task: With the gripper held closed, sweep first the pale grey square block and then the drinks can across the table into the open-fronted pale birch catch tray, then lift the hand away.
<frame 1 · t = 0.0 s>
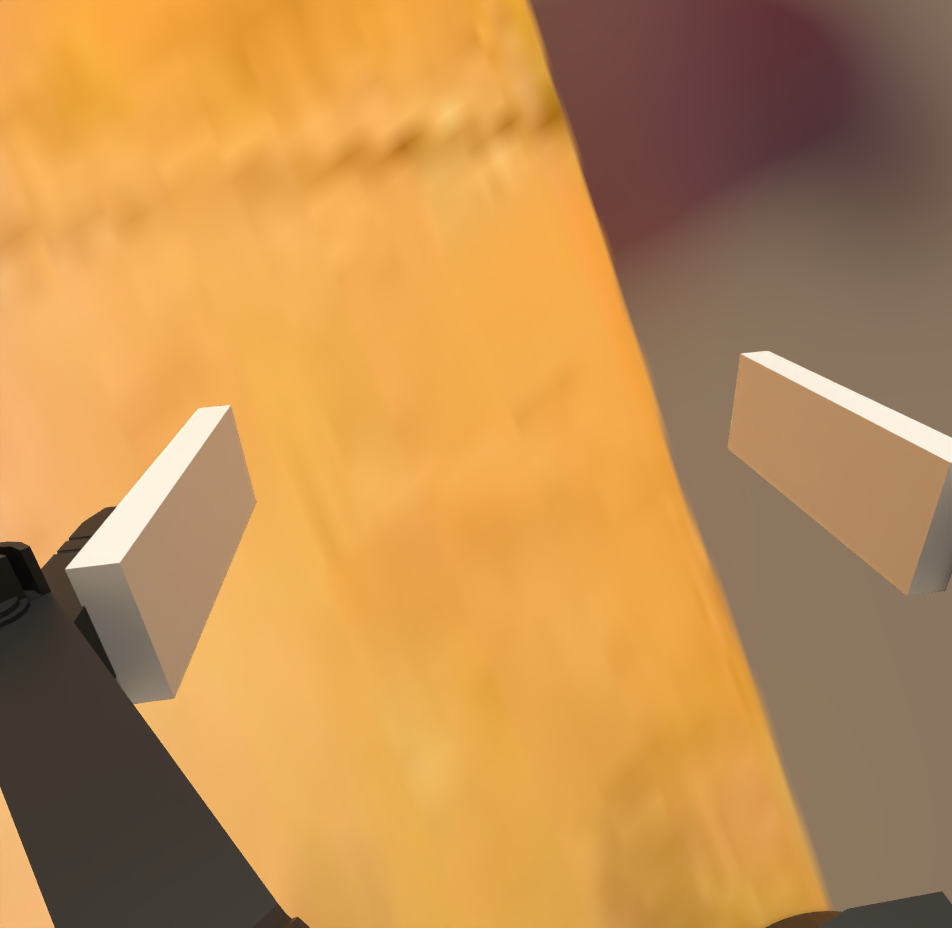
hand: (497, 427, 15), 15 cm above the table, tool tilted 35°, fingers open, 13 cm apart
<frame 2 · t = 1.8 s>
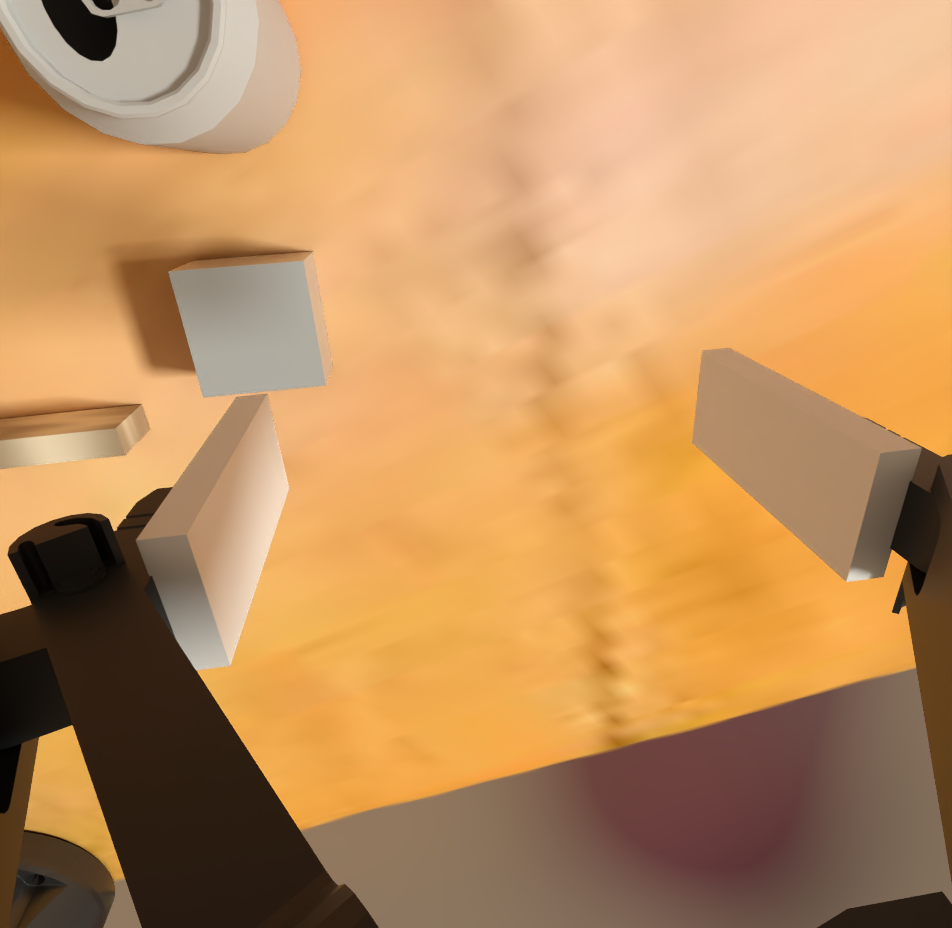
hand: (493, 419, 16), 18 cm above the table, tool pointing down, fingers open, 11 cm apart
can: (218, 62, 27), on the table
pale grey square block: (267, 314, 32), on the table
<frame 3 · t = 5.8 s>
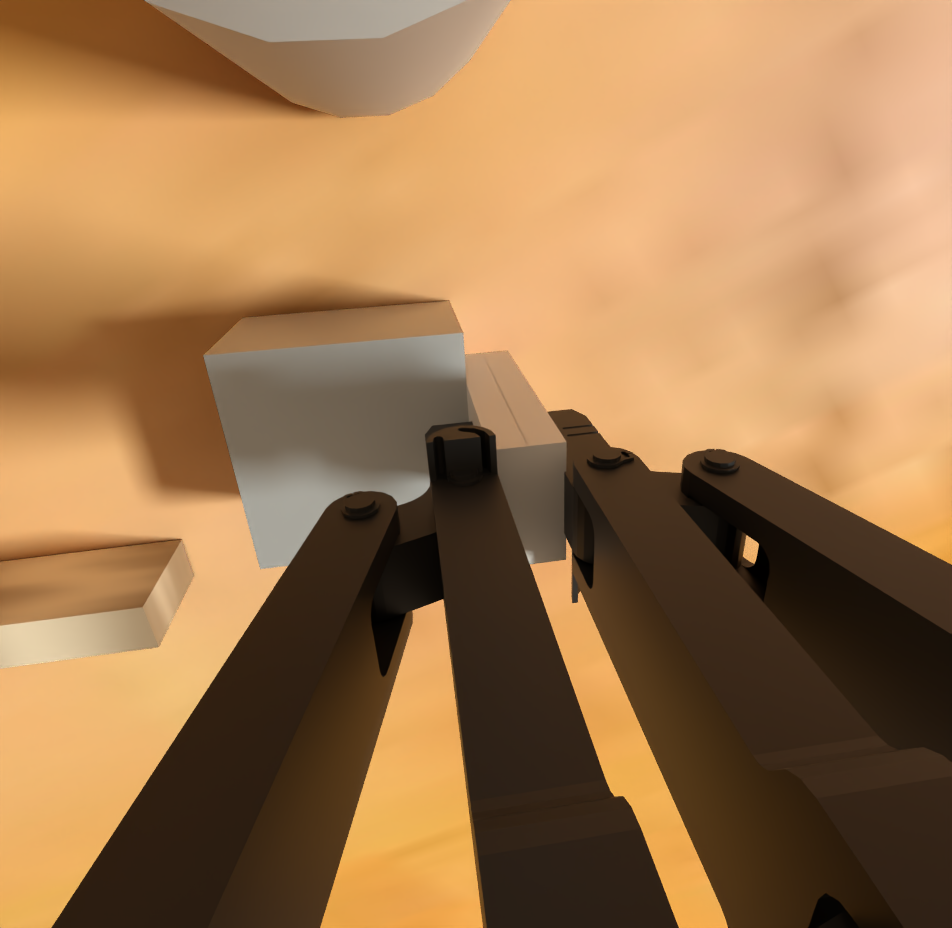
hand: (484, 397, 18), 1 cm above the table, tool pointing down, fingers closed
pale grey square block: (362, 404, 19), on the table, touching gripper
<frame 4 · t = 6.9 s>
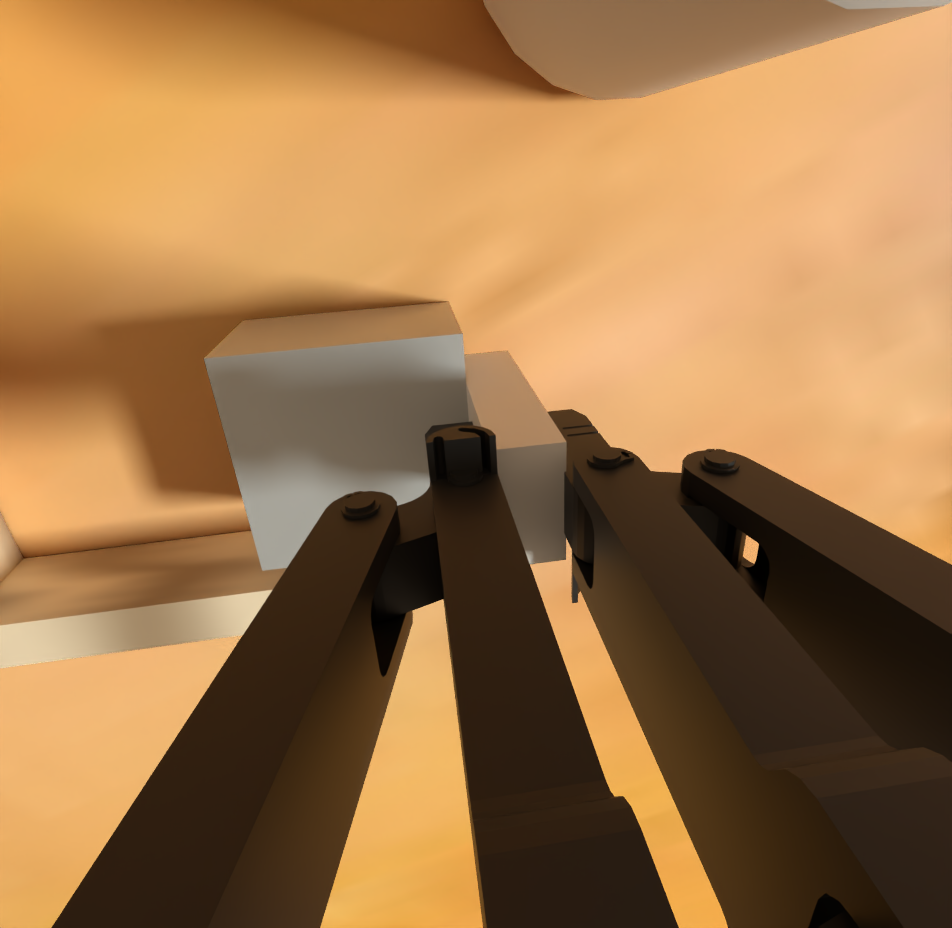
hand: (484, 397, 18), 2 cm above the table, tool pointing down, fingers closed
catch tray: (64, 209, 15), on the table
pale grey square block: (362, 406, 19), on the table, touching gripper
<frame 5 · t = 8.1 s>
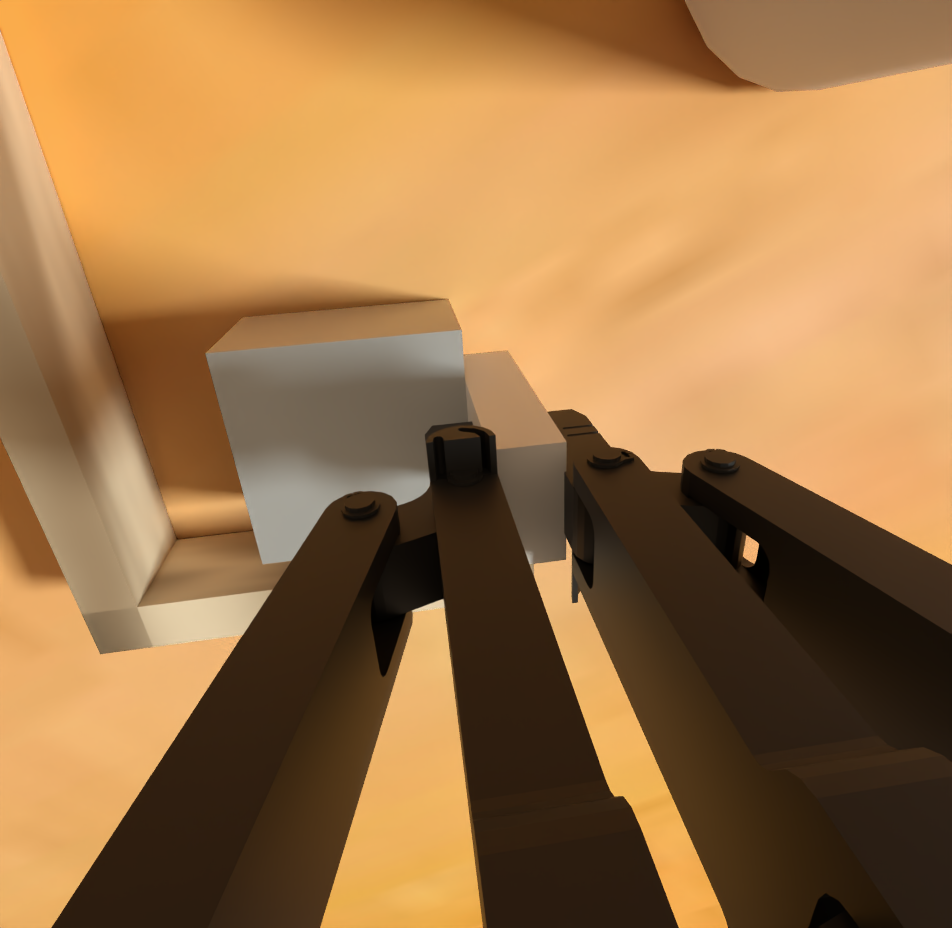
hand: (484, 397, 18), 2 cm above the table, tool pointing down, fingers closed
catch tray: (258, 196, 16), on the table
pale grey square block: (362, 402, 19), on the table
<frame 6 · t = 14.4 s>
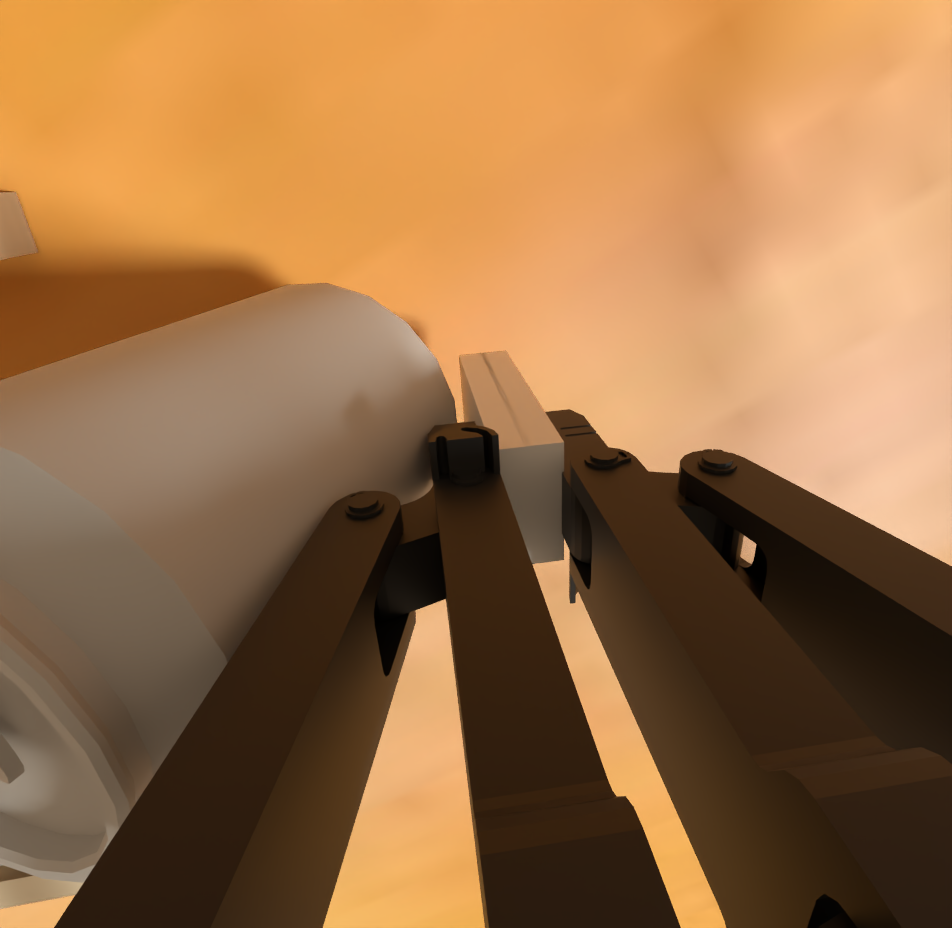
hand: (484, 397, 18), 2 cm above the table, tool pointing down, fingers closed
can: (351, 403, 18), point 1 cm above the table, touching gripper, hand
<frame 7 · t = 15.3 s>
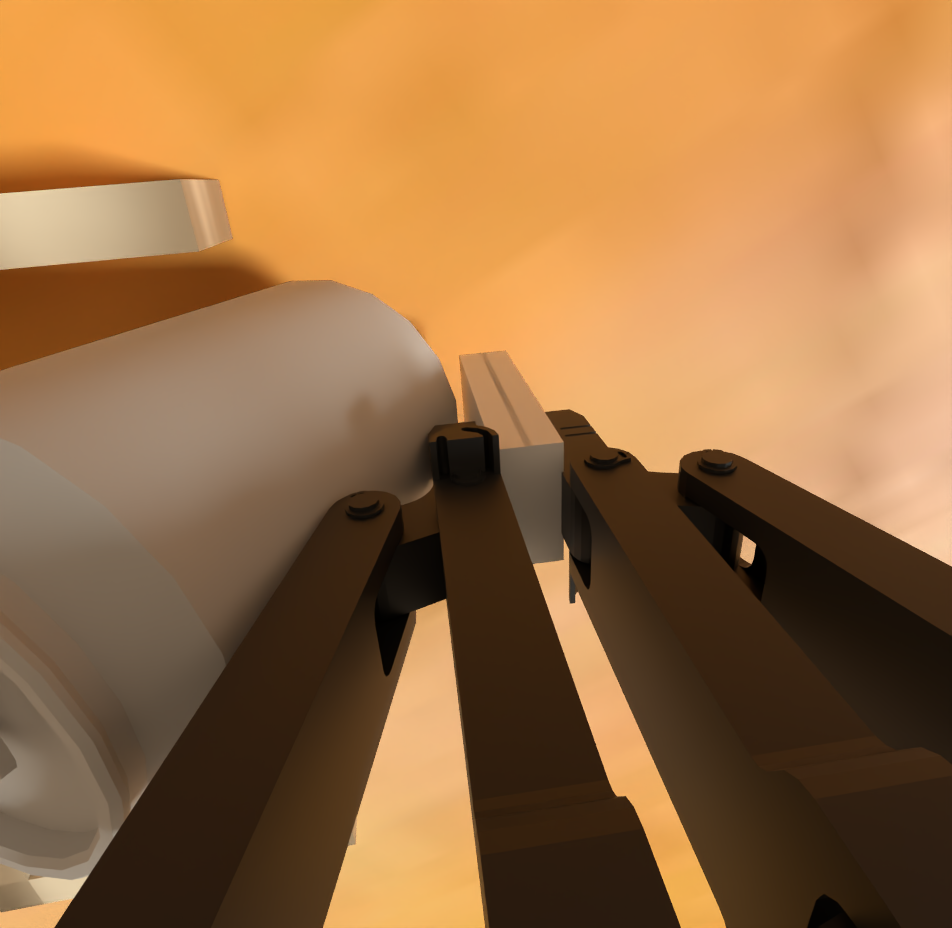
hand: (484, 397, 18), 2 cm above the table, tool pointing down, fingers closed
catch tray: (115, 570, 21), on the table
can: (352, 401, 18), point 1 cm above the table, touching gripper, hand
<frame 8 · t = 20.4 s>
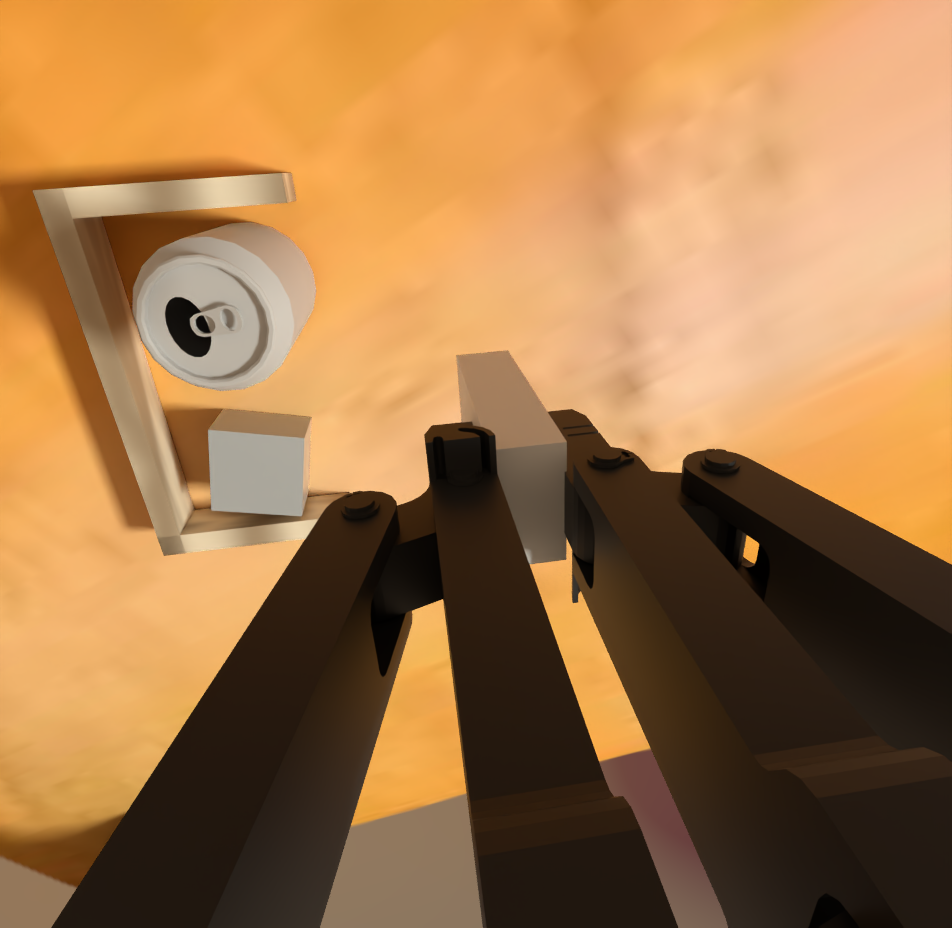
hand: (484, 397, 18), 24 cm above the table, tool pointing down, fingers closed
catch tray: (229, 371, 40), on the table
can: (258, 282, 38), on the table
pale grey square block: (268, 450, 43), on the table
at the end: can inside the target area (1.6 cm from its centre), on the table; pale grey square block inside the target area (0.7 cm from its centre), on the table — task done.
